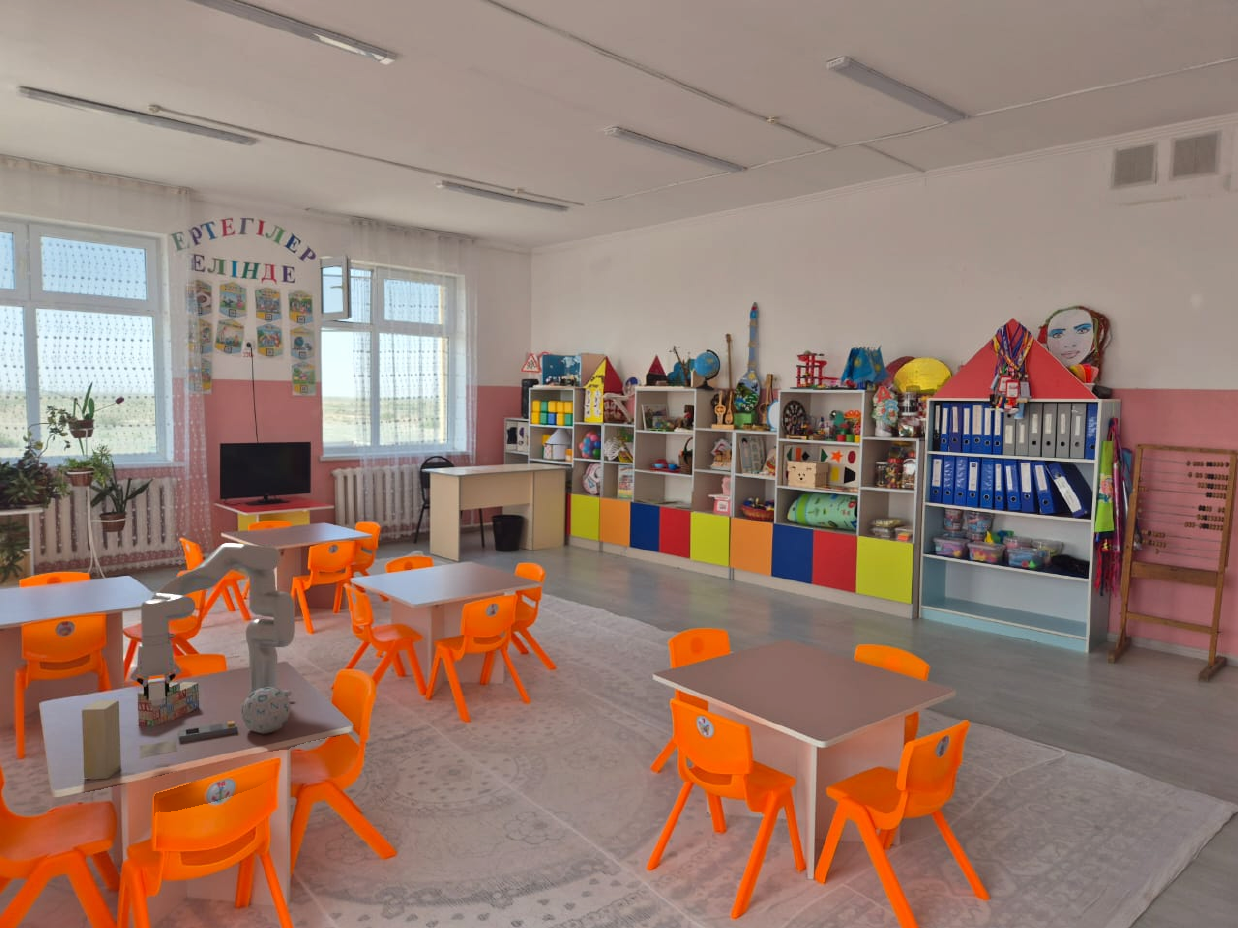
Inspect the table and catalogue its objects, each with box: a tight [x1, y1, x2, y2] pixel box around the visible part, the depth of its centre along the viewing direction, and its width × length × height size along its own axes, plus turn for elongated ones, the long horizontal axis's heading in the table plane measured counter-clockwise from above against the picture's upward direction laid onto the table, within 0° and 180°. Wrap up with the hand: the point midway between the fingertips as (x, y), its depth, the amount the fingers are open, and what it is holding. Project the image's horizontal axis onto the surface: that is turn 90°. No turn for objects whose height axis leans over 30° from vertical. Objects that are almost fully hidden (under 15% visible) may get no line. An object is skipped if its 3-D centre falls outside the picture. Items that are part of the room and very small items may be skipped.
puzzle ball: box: [241, 687, 291, 735], centre depth 278 cm, size 15×15×15 cm
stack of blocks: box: [137, 681, 200, 727], centre depth 290 cm, size 21×6×12 cm, turn 166°
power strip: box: [177, 720, 238, 743], centre depth 273 cm, size 17×6×4 cm, turn 121°
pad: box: [139, 739, 178, 759], centre depth 261 cm, size 10×10×1 cm
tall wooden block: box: [81, 699, 122, 780], centre depth 245 cm, size 8×7×21 cm
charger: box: [148, 677, 165, 706], centre depth 260 cm, size 4×6×7 cm
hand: (156, 695), depth 260 cm, fingers closed on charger, 4 cm apart
